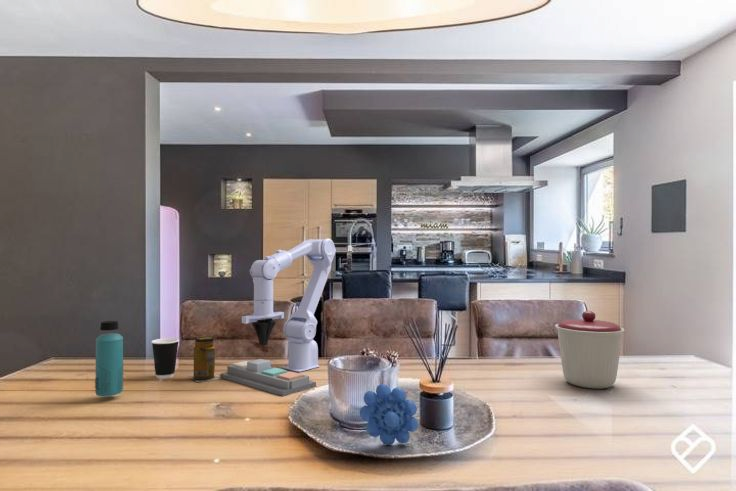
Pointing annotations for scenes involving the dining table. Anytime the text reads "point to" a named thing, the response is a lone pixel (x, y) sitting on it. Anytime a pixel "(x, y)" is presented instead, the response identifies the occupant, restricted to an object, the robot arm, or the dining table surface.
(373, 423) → the blue flower
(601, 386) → the canister
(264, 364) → the slate key
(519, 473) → the dining table surface
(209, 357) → the condiment
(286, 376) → the terracotta key
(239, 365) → the cream key
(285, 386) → the keypad
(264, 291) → the robot arm
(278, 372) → the teal key
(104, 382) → the beverage bottle
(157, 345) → the dixie cup
